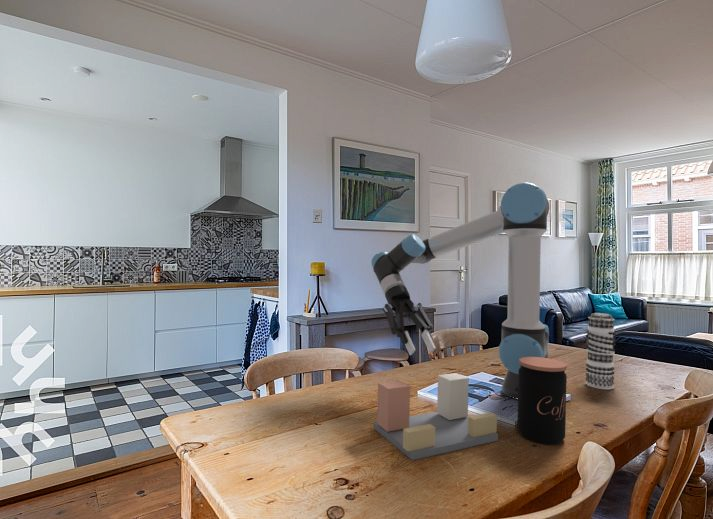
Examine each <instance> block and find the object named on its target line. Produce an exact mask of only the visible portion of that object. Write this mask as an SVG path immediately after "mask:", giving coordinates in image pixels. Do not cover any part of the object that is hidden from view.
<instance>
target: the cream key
mask: <svg viewBox="0 0 713 519" xmlns="http://www.w3.org/2000/svg"><path fill="white" fill-rule="evenodd" d="M469 380H470V377H467V376H465V375H462V374H459V373H456V372H453V373H445V374H439V375H437V395H436V396H437V401H436V402H437V403H436V404H437V406H436V412H437V413H438V414H439V415H441V416H443V417H445V418H446V419H448V420H453V419H458V418H463V417H467V418H468V417H469V414H468V413H469Z"/></svg>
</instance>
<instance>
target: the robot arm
mask: <svg viewBox="0 0 713 519" xmlns="http://www.w3.org/2000/svg"><path fill="white" fill-rule="evenodd" d="M549 202H550V201H549V200H548V197H547V195H546V193H545V191H544V190H543V189H542V188H541V187H540V186H538V185H536V184H534V183H531V182H520V183H516V184H513V185H512V186H510V187H509V188H507V190H506V191H505V192H504V194H503V195H502V197H501V200H500V206H498V208H497V210H494V211H493V212H490V213H488V214H486V215H483V216H480V217H478V218H475V219H472V220H470V221H468V222H466V223H463V224H460V225H459V226H456V227H453V228H451V229H448V230H446V231H443V232H441V233H439V234H435V235H433V236H430V237H428V238H426V239H423V240H422V239H421V238H420V237H419V236H418V235H416V234H414V233H411V234H409V235H408V236H406V237H405V238H403V239H402V240H401V241H400V242H399V243H398V244H396V246H395V247H393V248H392V249H391V250H390V251H389V252H387V251H380V252H379V253H376V254H374V255H373V257H372V258H371V267H372V270H373V272H374V275H375V277H376V278H377V281H378V282H379V285H380V288H381V290H382V293H383V295H384V297H385V299H386V300H385V301H386V302H387V303H385V304H384V306H383V308H382V311H383V312H384V314H385V317H386V319H387V323H388V325H389V328H390V332H391V334H392V335H396V337H397V338H399V339H400V340H401V343H402V344H403V345H405V348H406V350H407V352H408V354H409V356H412V355H413V354H414V352H415V351H416V347H415V345H414V343H413V341H412V338H411V337H410V333H409V331H408V330H405V322H404V320H405V319H404V316H406V317H407V318H408V319H410V320H411V321H412V322H413V323H414V325H415V326H416V327H417V328H418V330H420V332H421V337H422V340H423V342H424V343H425V346H426V348H427V350H428V353H429V354H432V353H433V352H434V351H435V350H436V346H435V343H434V342H433V340H434V338H433V336H432V333H431V331H432V330H433V328H434V325H433V323H432V322H431V320H430V319H429V317H428V315H427V313H426V312H425V311H424V309H423V304H422V303H421V302H418V303H414V302H413V301H412V300H411V296H410V293H409V291H408V289H407V288H408V287H406V284H405V282H404V280H403V278H402V276H401V275H400V272H401V271H403V270H404V269H405V268H407V267H408V266H409V265H411V264H423V265H424V264H427V263H429V262H431V261H432V260H434V259H436V258H439V257H441V256H444V255H447V254H449V253H453V252H455V251H458V250H461V249H463V248H466V247H469V246H472V245H474V244H476V243H480V242H483V241H484V240H485V241H486V240H488V239H490V238H493V237H496V236H498V235H501V234H503V233H504V234H505V235H506V236H507V237H508V251H507V252H508V256H507V257H508V258H507V259H508V261H507V262H508V263H507V264H508V265H507V267H508V268H507V316H506V317H507V318H506V319H505V320H504V321H503V322H502V323H501V341H500V343H499V347H498V357H499V360H500V362H501V363H502V365H503V366H504V367H505V368H506V369H507V371H506V372H505V376H504V379H503V381H502V385H501V392H502V394H503V393H504V394H503V395H505V394H506V395H508V396H511V397H514V398H518V372H519V368H520V367H521V365H520V364H519V359H520V358H523V357H542V358H549V336H550V331H549V329H550V328H549V326H548V325H547V324H543V322H542V321H540V310H541V309H540V307H541V300H540V299H541V298H540V297H541V296H540V295H541V241H542V240H541V239H542V238H541V237H542V236H543V235H544V234H545V233H546V232H547V231H548V229H547V228H548V225H547V224H548V215H549V212H550V203H549ZM394 313H395V314H394ZM506 395H505V396H506ZM508 396H507V397H508ZM511 397H510V398H511ZM514 398H513V399H514Z"/></svg>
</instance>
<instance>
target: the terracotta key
mask: <svg viewBox="0 0 713 519" xmlns="http://www.w3.org/2000/svg"><path fill="white" fill-rule="evenodd" d="M410 403H411V386H410V385H409V384H407V383H405V382H404V381H402V380H399V379H398V380H390V381H382V382H381V381H380V382H378V383H377V411H376V412H377V416H376V417H377V418H376V419H377V420H376V422H377V424H378V425H379V426H381V427H382V428H383V429H384V430H386V431H387V432H389V431H394V430H400V429H405V428H409V416H410V413H411V412H410V409H411V408H410V407H411V406H410Z"/></svg>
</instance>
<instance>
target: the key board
mask: <svg viewBox="0 0 713 519" xmlns="http://www.w3.org/2000/svg"><path fill="white" fill-rule="evenodd" d="M497 424H498V415H497V414H495V413H493V412H492V411H491V412H486V413H481V414H475V415H470V416H469V415H468V417H463V418H458V419H453V420H448V419H446V418H445V417H443V416H441V415H439V414H438V413H437V411H432V412H428V413H421V414H415V415H409V428H405V429H400V430H394V431H389V432H387V431H386V430H384V429H383V428H382V427H381V426H379V425H378V424H377V421H376V422H374V425H373V429H374V430H375V431H377V433H378V434H380V435H381V436H382V437H384V439H386V440H387V441H388V442H389V443H391V444H392V445H393V446H394V447H396V448H397V449H398V450H399V451H400V452H401V453H403V454H404V455H405V456H407V457H408V458H409V459H410V461H416V460H421V459H424V458H429V457H432V456H437V455H441V454H442V455H443V454H445V453H450V452H454V451H455V452H456V451H458V450H464V449H467V448H472V447H476V446H481V445H485V444H488V443H493V442H498V441H499V433H497V431H498V430H497V429H498V427H497V426H498V425H497Z"/></svg>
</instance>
